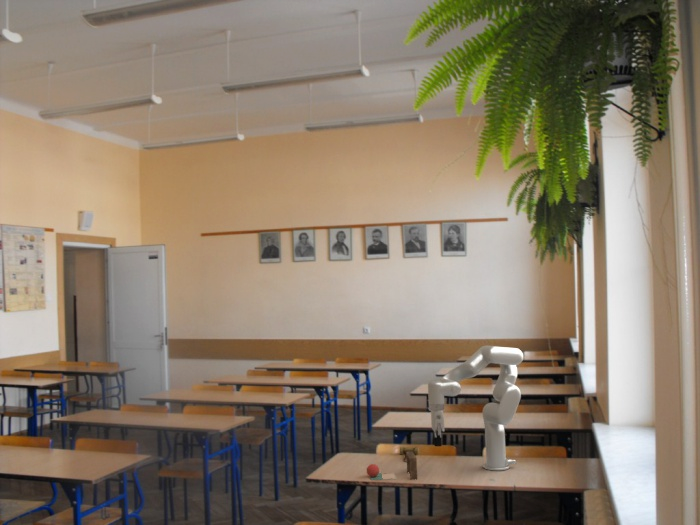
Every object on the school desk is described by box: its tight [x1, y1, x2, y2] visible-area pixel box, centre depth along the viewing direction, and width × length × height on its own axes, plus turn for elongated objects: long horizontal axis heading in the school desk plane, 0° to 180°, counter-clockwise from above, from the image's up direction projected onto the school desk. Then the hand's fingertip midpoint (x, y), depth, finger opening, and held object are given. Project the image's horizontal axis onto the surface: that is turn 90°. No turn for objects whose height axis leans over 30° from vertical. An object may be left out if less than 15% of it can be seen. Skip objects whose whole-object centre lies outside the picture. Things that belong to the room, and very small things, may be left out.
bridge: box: [405, 451, 418, 481], centre depth 313 cm, size 3×15×10 cm, turn 2°
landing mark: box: [369, 472, 383, 481], centre depth 312 cm, size 12×12×1 cm
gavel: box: [399, 446, 420, 463], centre depth 351 cm, size 21×5×10 cm
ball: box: [366, 463, 380, 477], centre depth 312 cm, size 6×6×6 cm
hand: (438, 445), depth 314 cm, fingers closed
